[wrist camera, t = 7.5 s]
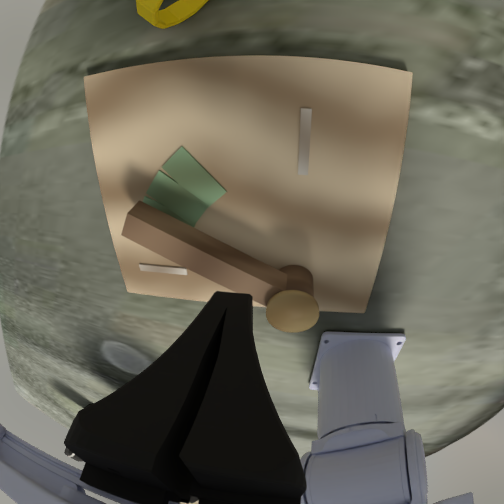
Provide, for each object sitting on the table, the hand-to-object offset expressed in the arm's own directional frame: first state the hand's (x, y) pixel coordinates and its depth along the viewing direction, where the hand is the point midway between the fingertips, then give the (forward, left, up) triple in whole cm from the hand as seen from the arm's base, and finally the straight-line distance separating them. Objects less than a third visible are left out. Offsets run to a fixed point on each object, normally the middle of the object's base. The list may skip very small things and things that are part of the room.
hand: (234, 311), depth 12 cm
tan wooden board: (0, +2, -10) cm, 11 cm away
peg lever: (-4, +2, -10) cm, 10 cm away
